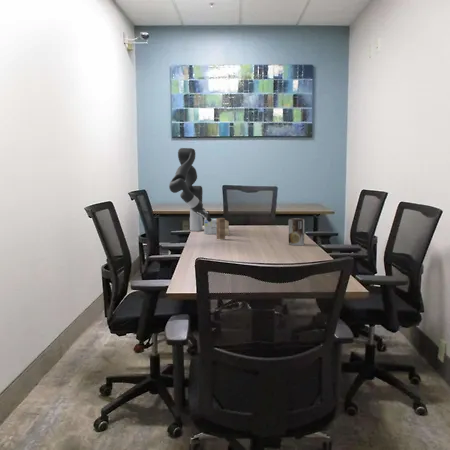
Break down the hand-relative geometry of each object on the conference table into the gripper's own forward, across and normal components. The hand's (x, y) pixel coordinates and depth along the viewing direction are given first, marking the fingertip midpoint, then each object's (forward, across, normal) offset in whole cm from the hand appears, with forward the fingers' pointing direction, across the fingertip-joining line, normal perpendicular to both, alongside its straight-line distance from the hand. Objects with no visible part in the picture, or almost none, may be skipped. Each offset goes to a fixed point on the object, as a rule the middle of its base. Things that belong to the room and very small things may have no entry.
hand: (210, 220), depth 295 cm
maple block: (+24, +12, -5) cm, 27 cm away
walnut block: (+15, 0, +4) cm, 15 cm away
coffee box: (+34, -44, -15) cm, 57 cm away
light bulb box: (+22, +23, -2) cm, 32 cm away
